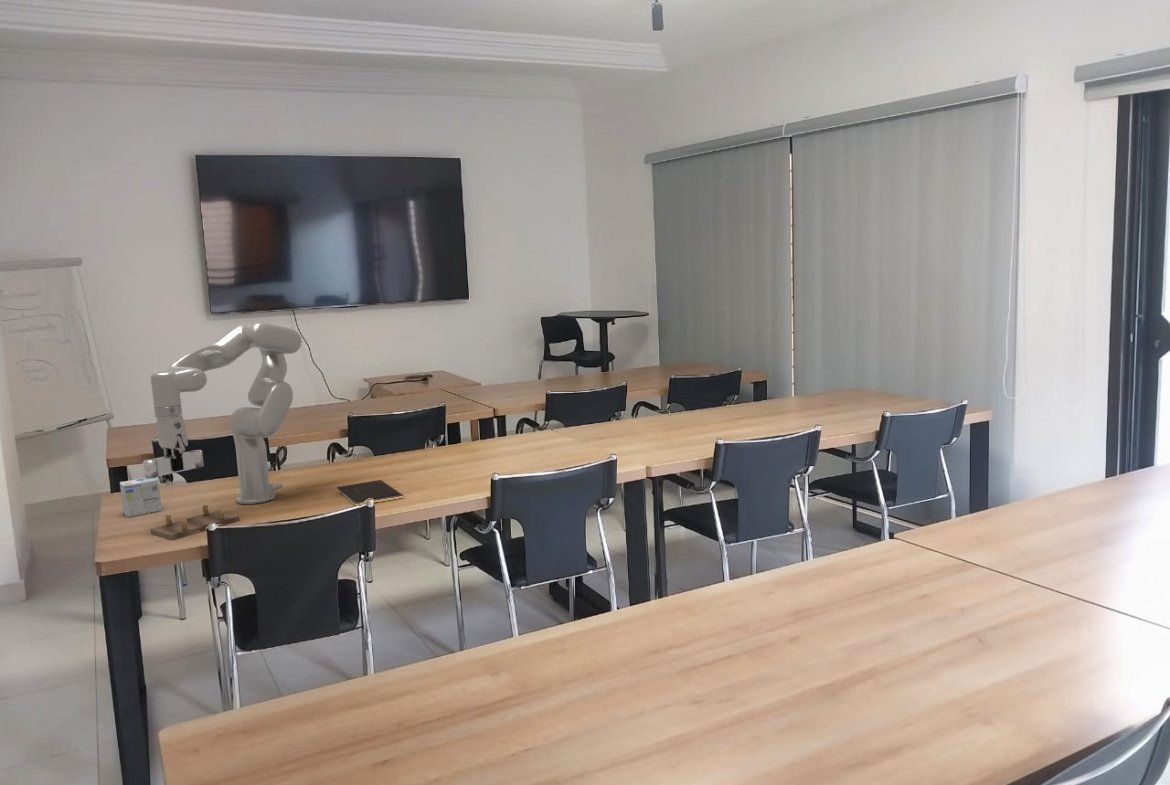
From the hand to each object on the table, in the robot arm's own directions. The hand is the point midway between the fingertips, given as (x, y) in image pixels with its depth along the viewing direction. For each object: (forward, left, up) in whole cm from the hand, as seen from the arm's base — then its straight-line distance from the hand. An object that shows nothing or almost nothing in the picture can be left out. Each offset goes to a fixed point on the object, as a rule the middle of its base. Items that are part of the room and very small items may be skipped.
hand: (175, 469), depth 272 cm
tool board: (0, +9, -17) cm, 19 cm away
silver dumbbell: (0, 0, -1) cm, 1 cm away
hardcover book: (-51, +28, -18) cm, 61 cm away
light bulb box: (0, -23, -17) cm, 29 cm away
